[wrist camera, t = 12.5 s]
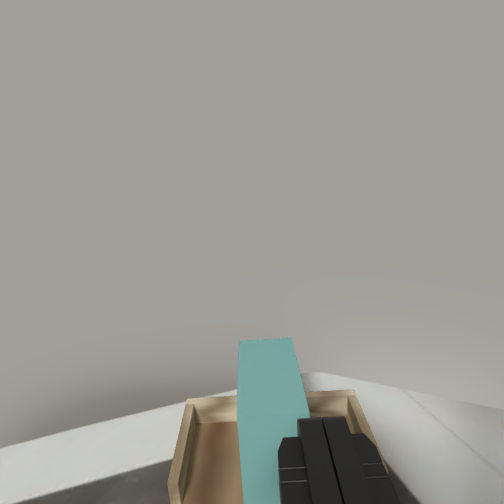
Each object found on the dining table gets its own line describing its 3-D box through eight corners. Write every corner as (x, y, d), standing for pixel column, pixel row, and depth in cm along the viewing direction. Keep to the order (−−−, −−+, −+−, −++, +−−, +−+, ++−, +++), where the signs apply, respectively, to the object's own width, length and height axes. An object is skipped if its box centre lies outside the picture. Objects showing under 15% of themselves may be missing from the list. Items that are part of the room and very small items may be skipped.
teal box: (293, 424, 45) (291, 337, 42) (310, 520, 34) (309, 412, 30) (244, 427, 45) (238, 341, 42) (245, 524, 34) (236, 417, 30)
